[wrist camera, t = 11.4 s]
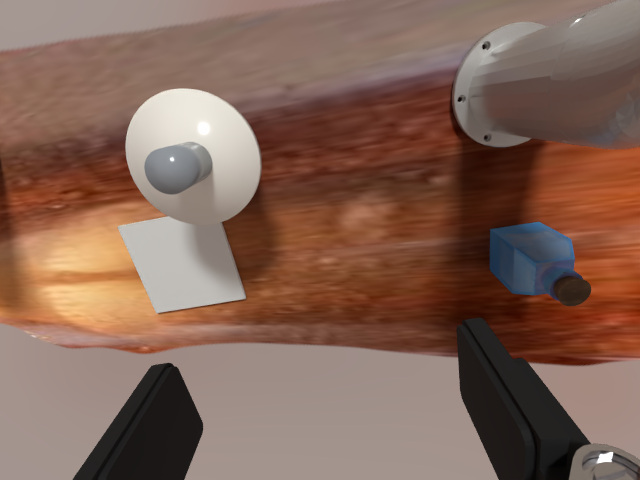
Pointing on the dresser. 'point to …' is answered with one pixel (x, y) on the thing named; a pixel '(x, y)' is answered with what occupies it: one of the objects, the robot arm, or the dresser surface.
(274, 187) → the dresser surface
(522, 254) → the perfume bottle
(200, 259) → the mat
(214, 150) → the lid
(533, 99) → the robot arm
